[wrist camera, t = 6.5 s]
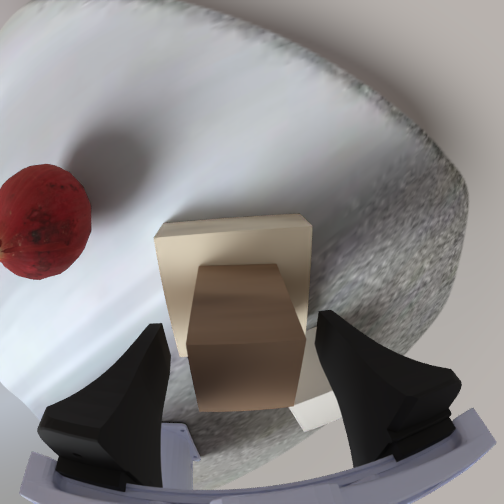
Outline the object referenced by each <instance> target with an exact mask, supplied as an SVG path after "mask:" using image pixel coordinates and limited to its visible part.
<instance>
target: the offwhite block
mask: <svg viewBox="0 0 504 504" xmlns="http://www.w3.org/2000/svg"><path fill="white" fill-rule="evenodd" d="M316 329H317V326H316V327H314V328H312V329H309V330H307V331H306V334H305V337H306V345H305V351H304V356H303V362H302V367H301V373H300V378H299V383H298V388H297V393H296V398H295V402H294V406H293V407H289V409H290V410H291V412H292V413H293V415H294V417H295V418H296V420H297V421H298V423H299V425H300V426H301V428H302V429H303V431H304V432H306V431H309V430H312V429H314V428H317V427H320V426H323V425H325V424H328V423H330V422H333V421H335V420H338V419H340V418H342V415H341V411H340V408H339V405H338V402H337V400H336V397H335V395H334V393H333V390H332V388H331V386H330V384H329V382H328V379H327V377H326V375H325V373H324V371H323V368H322V366H321V364H320V361H319V358H318V355H317V351H316V348H315V344H314V343H315V336H316Z"/></svg>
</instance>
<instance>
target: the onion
mask: <svg viewBox="0 0 504 504" xmlns="http://www.w3.org/2000/svg"><path fill="white" fill-rule="evenodd" d="M90 233H91V204H90V202H89V199H88V197H87V195H86V192H85V190H84V187H83V186H82V185H81V184H80V183H79V182H78V181H77V179H76V178H75V177H74V176H73V175H72V174H71V173H70V172H68V171H66V170H64V169H62V168H59V167H57V166H55V165H50V164H42V165H34V166H29V167H27V168H24V169H22V170H21V171H19V172H18V173H16V174H15V175H13V176H12V177H10V178H9V179H8V180H7V181H6V182H5V183H4V184H3V185H2V187H1V189H0V262H2V264H3V265H4V266H5V267H6V268H7V269H9V270H10V271H11V272H13V273H14V274H16V275H18V276H21V277H25V278H29V279H33V280H41V279H44V278H47V277H50V276H54V275H58V274H61V273H62V272H64V271H65V270H66V269H68V268H69V267H70V266H71V265H72V264H73V263H74V261H75V260H76V259H77V258H78V257H79V256H80V255H81V253H82V252H83V250H84V248H85V246H86V243H87V240H88V238H89V235H90Z"/></svg>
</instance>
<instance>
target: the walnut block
mask: <svg viewBox="0 0 504 504" xmlns="http://www.w3.org/2000/svg"><path fill="white" fill-rule="evenodd" d="M305 345H306V337H305V334H304V331H303V329H302V326H301V324H300V321H299V319H298V316H297V314H296V311H295V308H294V306H293V303H292V301H291V298H290V296H289V293H288V291H287V288H286V286H285V283H284V281H283V278H282V276H281V273H280V271H279V268H278V266H277V264H248V265H211V266H199V267H198V273H197V278H196V284H195V290H194V295H193V301H192V307H191V313H190V320H189V326H188V333H187V339H186V349H187V355H188V360H189V365H190V370H191V375H192V380H193V385H194V390H195V394H196V399H197V403H198V407H199V412H229V411H250V410H264V409H275V408H285V407H293V406H294V402H295V398H296V393H297V388H298V383H299V378H300V373H301V367H302V362H303V356H304V351H305Z"/></svg>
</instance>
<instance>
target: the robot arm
mask: <svg viewBox="0 0 504 504" xmlns="http://www.w3.org/2000/svg"><path fill="white" fill-rule="evenodd" d="M314 344H315V348H316V351H317V355H318V358H319V361H320V364H321V366H322V368H323V371H324V373H325V375H326V377H327V379H328V382H329V384H330V386H331V388H332V390H333V393H334V395H335V397H336V400H337V402H338V405H339V408H340V411H341V415H342V418H343V422H344V425H345V429H346V433H347V437H348V441H349V446H350V450H351V455H352V461H353V467H354V468H352V469H349V470H346V471H342V472H339V473H335V474H331V475H327V476H323V477H319V478H314V479H310V480H304V481H299V482H294V483H288V484H281V485H274V486H266V487H257V488H247V489H231V490H193V461H200V460H201V457H200V455H199V453H198V451H197V449H196V446H195V444H194V442H193V440H192V437H191V435H190V433H189V430H188V428H187V426H186V425H185V424H183V423H161V421H162V413H163V407H164V401H165V396H166V391H167V386H168V380H169V375H170V362H171V354H170V351H169V347H168V344H167V340H166V336H165V333H164V329H163V325H162V323H155V324H149V325H148V326H147V327H146V328H145V330H144V331H143V332H142V333H141V334H140V336H139V337H138V338H137V339H136V340H135V342H134V343H133V344H132V345H131V346H130V347H129V349H128V350H127V351H126V352H125V353H124V354H123V355H122V356H121V357H120V358H119V359H118V360H117V361H116V363H115V364H113V365H112V366H111V367H110V368H109V369H108V370H107V371H106V372H105V373H103V374H102V375H101V376H100V377H99V378H97V379H96V380H95V381H93V382H92V383H90V384H89V385H88V386H86V387H85V388H83V389H82V390H80V391H78V392H77V393H75V394H73V395H71V396H70V397H68V398H66V399H64V400H62V401H59V402H57V403H55V404H53V405H50V406H48V407H47V408H46V410H45V412H44V414H43V417H42V419H41V421H40V424H39V426H38V430H37V432H38V434H39V436H40V438H41V439H42V440H43V441H44V442H45V443H46V444H47V445H48V446H49V447H50V448H51V449H52V450H53V451H54V452H55V453H56V454H57V455H58V456H59V458H58V461H56V460H54V459H52V458H50V457H47V456H44V455H42V454H39V453H36V452H34V451H32V452H31V455H30V458H29V461H28V464H27V467H26V470H25V474H24V477H23V481H22V484H21V488H20V492H19V494H20V495H21V496H23V497H24V498H26V499H27V500H29V501H31V502H32V503H34V504H411V503H413V502H415V501H417V500H419V499H421V498H423V497H424V496H426V495H428V494H430V493H431V492H433V491H435V490H436V489H438V488H440V487H441V486H443V485H445V484H446V483H448V482H449V481H451V480H452V479H454V478H455V477H457V476H458V475H460V474H461V473H463V472H464V471H466V470H467V469H469V468H470V467H471V466H472V465H473V464H475V463H476V462H477V461H478V460H479V459H480V458H481V457H482V456H484V455H485V454H486V453H487V452H488V451H489V450H490V449H491V448H492V447H493V446H494V445H495V444H496V441H495V439H494V437H493V436H492V435H491V433H490V431H489V430H488V429H487V427H486V426H485V424H484V422H483V421H482V420H481V418H480V417H479V415H478V414H477V412H476V411H475V410H474V408H471V409H470V410H468V411H466V412H465V413H463V414H461V415H460V416H458V417H456V418H455V419H454V420H453V421H451V419H450V418H449V417H450V416H451V411H450V410H449V407H450V405H451V404H452V402H453V401H454V399H455V398H456V397H457V395H458V393H459V391H460V389H461V386H462V384H461V381H460V380H459V378H458V377H457V376H456V374H455V373H454V372H453V371H452V370H451V369H448V368H442V367H437V366H432V365H429V364H425V363H421V362H418V361H415V360H413V359H410V358H407V357H405V356H402V355H400V354H398V353H396V352H394V351H392V350H390V349H388V348H386V347H384V346H382V345H380V344H379V343H377V342H375V341H374V340H372V339H371V338H369V337H367V336H366V335H364V334H363V333H362V332H360V331H359V330H357V329H356V328H355V327H353V326H352V325H351V324H349V323H348V322H347V321H345V320H344V319H343V318H341V317H340V316H339V315H337V314H336V313H335V312H333V311H332V310H325V311H319V313H318V321H317V329H316V336H315V343H314Z"/></svg>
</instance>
